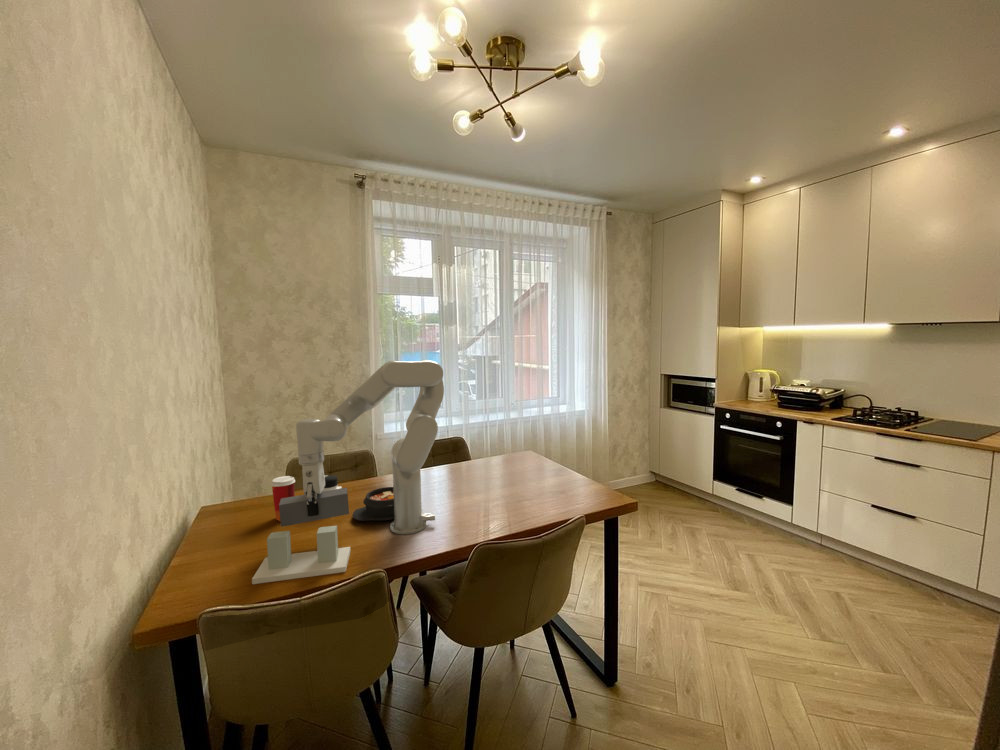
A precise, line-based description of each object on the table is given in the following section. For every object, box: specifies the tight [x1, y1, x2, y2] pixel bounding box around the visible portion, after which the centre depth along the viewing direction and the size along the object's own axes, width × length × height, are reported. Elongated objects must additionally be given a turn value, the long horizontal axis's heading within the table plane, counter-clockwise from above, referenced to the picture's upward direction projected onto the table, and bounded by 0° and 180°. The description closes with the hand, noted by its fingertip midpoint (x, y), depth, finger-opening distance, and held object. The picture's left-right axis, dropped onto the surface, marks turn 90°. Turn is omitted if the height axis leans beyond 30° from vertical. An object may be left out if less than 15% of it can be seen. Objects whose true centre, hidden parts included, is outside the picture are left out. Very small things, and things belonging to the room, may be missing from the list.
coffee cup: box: [270, 475, 296, 522], centre depth 154 cm, size 8×8×15 cm
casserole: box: [352, 486, 394, 522], centre depth 156 cm, size 25×19×8 cm
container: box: [322, 474, 343, 492], centre depth 163 cm, size 8×8×13 cm
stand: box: [251, 525, 352, 585], centre depth 120 cm, size 24×12×10 cm, turn 104°
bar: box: [279, 487, 350, 527], centre depth 134 cm, size 20×6×7 cm, turn 113°
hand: (315, 510), depth 134 cm, fingers closed on bar, 6 cm apart
